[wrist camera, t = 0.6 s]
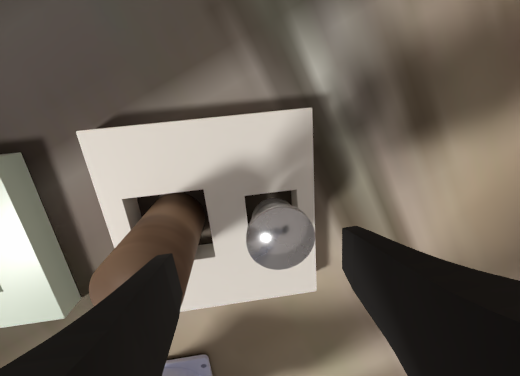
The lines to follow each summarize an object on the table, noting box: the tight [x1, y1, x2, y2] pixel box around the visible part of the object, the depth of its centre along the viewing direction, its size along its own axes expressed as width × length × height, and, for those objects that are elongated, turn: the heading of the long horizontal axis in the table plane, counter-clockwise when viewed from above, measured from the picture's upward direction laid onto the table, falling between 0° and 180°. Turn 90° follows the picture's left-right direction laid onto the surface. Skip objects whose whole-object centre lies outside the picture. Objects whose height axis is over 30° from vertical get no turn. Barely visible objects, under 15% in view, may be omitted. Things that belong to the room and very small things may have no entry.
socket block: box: [76, 108, 316, 312], centre depth 17 cm, size 14×14×2 cm
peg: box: [89, 193, 205, 306], centre depth 14 cm, size 4×4×8 cm
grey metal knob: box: [246, 198, 315, 270], centre depth 15 cm, size 4×4×3 cm
